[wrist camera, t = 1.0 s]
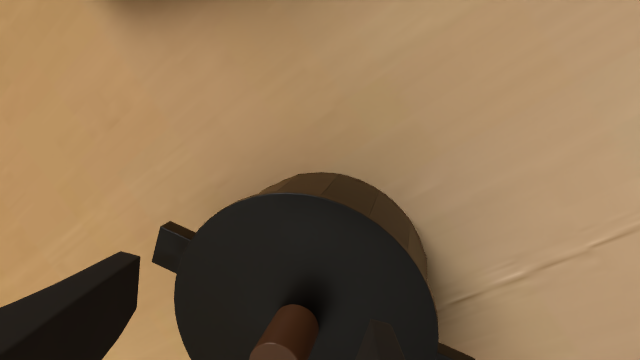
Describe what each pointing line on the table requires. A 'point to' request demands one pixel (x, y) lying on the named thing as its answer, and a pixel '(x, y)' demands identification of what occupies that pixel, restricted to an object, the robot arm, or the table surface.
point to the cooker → (333, 185)
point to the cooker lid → (299, 283)
